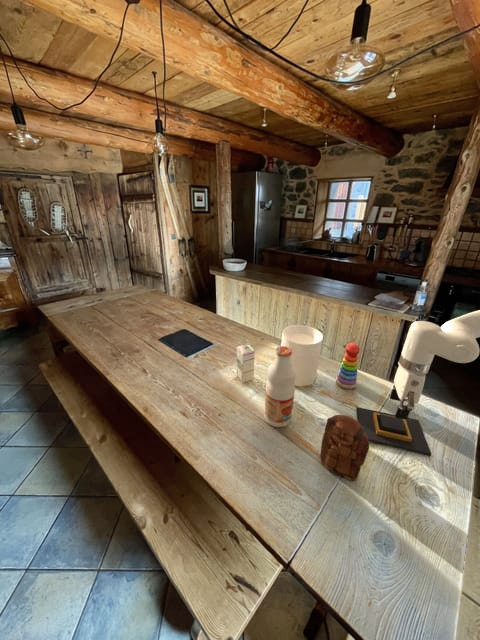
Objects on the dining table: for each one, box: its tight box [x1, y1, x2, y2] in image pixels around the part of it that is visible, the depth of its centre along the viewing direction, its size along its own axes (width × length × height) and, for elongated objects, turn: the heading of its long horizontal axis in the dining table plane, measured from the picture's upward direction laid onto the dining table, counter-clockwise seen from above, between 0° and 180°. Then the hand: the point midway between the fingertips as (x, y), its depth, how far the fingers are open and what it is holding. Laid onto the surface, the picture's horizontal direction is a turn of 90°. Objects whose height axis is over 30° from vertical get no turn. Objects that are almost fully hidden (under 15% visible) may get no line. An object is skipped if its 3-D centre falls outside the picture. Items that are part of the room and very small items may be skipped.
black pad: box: [378, 414, 406, 435], centre depth 88 cm, size 7×6×3 cm
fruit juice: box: [263, 345, 296, 428], centre depth 87 cm, size 9×9×28 cm
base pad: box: [356, 406, 432, 457], centre depth 88 cm, size 20×14×2 cm
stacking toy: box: [335, 342, 361, 390], centre depth 106 cm, size 8×8×19 cm
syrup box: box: [236, 343, 256, 383], centre depth 110 cm, size 6×6×14 cm
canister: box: [280, 324, 324, 387], centre depth 111 cm, size 16×16×20 cm
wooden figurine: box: [319, 414, 370, 482], centre depth 73 cm, size 12×6×18 cm, turn 56°
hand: (397, 408), depth 85 cm, fingers open, 7 cm apart
